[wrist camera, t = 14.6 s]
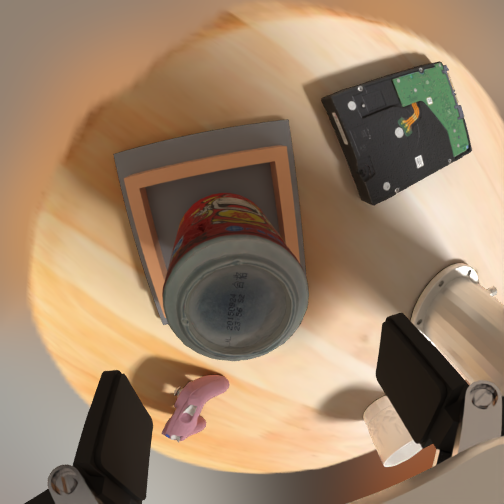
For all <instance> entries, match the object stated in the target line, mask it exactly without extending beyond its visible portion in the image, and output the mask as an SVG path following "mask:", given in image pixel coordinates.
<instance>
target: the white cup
mask: <svg viewBox="0 0 504 504" xmlns="http://www.w3.org/2000/svg"><path fill="white" fill-rule="evenodd" d="M363 419H364V421H365V423H366V425H367V427H368V430H369V433H370V436H371V438H372V440H373V443H374V445H375V447H376V449H377V451H378V454H379V456H380V458H381V461H382V463H383V465H384V466H385V467H390V466H394V465H397V464H399V463H402V462H404V461H406V460H407V459H409V458H411V457H412V456H413V455H415V454H416V453H418V452H419V451H420V450H421V449H422V447H421V445H420V443H419V444H416V443H415V442H414V441H413V439H412V437H411V435H410V434H409V432H408V430H407V429H406V427H405V425H404V424H403V422H402V420H401V419H400V417H399V415H398V414H397V412H396V410H395V409H394V407H393V405H392V404H391V402H390V400H389V399H388V397H387V395H386V396H383V397H381V398H379V399H378V400H376V401H374V402H373V403H372V404H371V405H370V406H369V407H368V408H367V409H366V411H365V412H364V415H363Z"/></svg>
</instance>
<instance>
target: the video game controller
mask: <svg viewBox="0 0 504 504" xmlns="http://www.w3.org/2000/svg"><path fill="white" fill-rule="evenodd" d="M180 388H181V386H180V387H178V388H176V390H175V393H174V395H175V396H176V395H177V400H176V402H175V405H174V407H175V408H176V410H175V412H174V414H173V415H172V417H171V418H170V419H169V420H168V421H167V423H166V425H165V427H164V429H163V431H162V434H163V435H165V436H166V437H168V438H170V439H172V440H177V441H178V443H179V441H183V440H184V439H186V438H187V437H189V436H191V435H193V434H195V433H198V432H200V431H202V430H203V429H204V428H205V427H206V421H205V419H204V418H203V417H201V416H199V415H200V413H201V410H202V408H203V406H204V404H205V403H206V402H207V401H208V400H210V399H211V398H213V397H215V396H217V395H219V394H222V393H224V392H225V391H226V390H227V389H228V388H229V381H228V380H227V379H226V378H225V377H224V376H220V375H207V376H203V377H201V378H198V379H196V380H194V381H192V382H191V381H190V382H188V383H187V385H186V386H185V387H184V388H182V389H181V390H180Z"/></svg>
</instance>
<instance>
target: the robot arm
mask: <svg viewBox="0 0 504 504" xmlns="http://www.w3.org/2000/svg"><path fill="white" fill-rule="evenodd" d="M496 294H497V289H496V288H495V287H494V286H493V287H491V288H489V289H485V288H484V287H482V286H481V285H479V280H478V275H477V273H476V271H475V270H474V269H473V268H472V267H470V266H469V265H467V264H464V263H456V264H453V265H450V266H448V267H447V268H445V269H443V270H442V271H441V272H440V273H438V274H437V275H436V276H435V277H434V278H433V279H432V280H431V281H430V283H429V284H428V285H427V286H426V288H425V289H424V291H423V292H422V294H421V295H420V297H419V299H418V301H417V303H416V305H415V308H414V311H413V313H412V318H411V321H410V320H409V319H408V318H407V317H406V316H405V315H404V314H403V313H398V314H395V315H392V316H389V317H387V318H386V321H385V322H383V324H382V332H381V340H380V348H379V355H378V362H377V368H376V378H377V381H378V383H379V384H380V386H381V387H382V389H383V391H384V392H385V394H386V395H387V397H388V399H389V400H390V402H391V404H392V405H393V407H394V409H395V410H396V412H397V414H398V415H399V417H400V419H401V420H402V422H403V424H404V425H405V427H406V429H407V430H408V432H409V434H410V435H411V437H412V439H413V441H414V442H415V443H416V444H419V443H420V445H421V447H422V448H425V447H427V446H429V445H431V444H434V446H435V447H436V449H437V451H436V455H435V459H434V463H433V467H432V468H430V469H428V470H426V471H424V472H422V473H420V474H418V475H416V476H414V477H412V478H410V479H408V480H406V481H403V482H401V483H399V484H397V485H394V486H392V487H390V488H387V489H385V490H382V491H380V492H377V493H375V494H372V495H370V496H367V497H364V498H361V499H359V500H356V501H353V502H350V503H347V504H504V305H503V304H502V303H501V302H499V301H498V300H497V299H496V298H495V297H493V296H495V295H496ZM435 346H436V347H437V348H438V349H439V350H440V351H441V352H442V353H443V354H444V355H445V356H446V357H447V358H448V359H449V361H450V362H451V363H452V364H453V365H454V366H455V367H456V368H457V369H458V370H459V372H460V373H461V374H462V375H463V376H464V377H465V378H466V379H467V380H468V382H469V383H470V384H471V385H470V386H469V385H468V384H467V382H466V381H465V380H464V379H463V378H462V377H461V375H460V374H459V373H458V372H457V371H456V370H455V369H454V367H453V366H452V365H451V364H450V363H449V362H448V361H447V360H446V358H445V357H444V356H443V355H442V354H441V353H440V352H439V351H438V350H437V348H436V347H435ZM152 430H153V422H152V419H151V417H150V415H149V414H148V412H147V410H146V409H145V407H144V406H143V404H142V402H141V401H140V399H139V397H138V396H137V394H136V392H135V391H134V389H133V387H132V386H131V384H130V382H129V380H128V379H127V377H126V375H125V374H121V372H120V371H119V370H113V371H104V372H103V373H102V375H101V378H100V381H99V384H98V387H97V389H96V392H95V395H94V398H93V401H92V404H91V407H90V409H89V412H88V415H87V418H86V421H85V424H84V428H83V431H82V434H81V438H80V442H79V445H78V448H77V452H76V456H75V459H74V463H73V466H71V465H60V466H58V467H56V468H55V469H53V470H52V472H51V473H50V475H49V477H48V488H49V489H47V490H46V491H44V492H42V493H41V494H39V495H38V496H36V497H34V498H33V499H31V500H30V501H28V502H26V503H25V504H142V500H145V498H146V490H147V478H148V467H149V456H150V447H151V438H152Z"/></svg>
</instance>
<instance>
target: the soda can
mask: <svg viewBox="0 0 504 504" xmlns="http://www.w3.org/2000/svg"><path fill="white" fill-rule="evenodd" d="M162 296H163V308H164V312H165V316H166V319H167V322H168V324H169V326H170V327H171V329H172V330H173V332H174V333H175V334H176V336H177V337H178V338H179V339H180V340H181V341H182V342H183V344H184V345H186V346H188V347H189V348H191V349H192V350H194V351H195V352H197V353H199V354H202V355H204V356H207V357H209V358H213V359H217V360H228V361H240V360H248V359H252V358H256V357H259V356H262V355H265V354H267V353H269V352H271V351H272V350H274V349H276V348H277V347H279V346H280V345H282V344H284V343H285V342H286V341H287V340H288V339H289V338H290V337H291V336H292V334H293V333H294V332H295V331H296V330H297V328H298V327H299V325H300V324H301V322H302V319H303V317H304V315H305V312H306V310H307V306H308V297H309V292H308V283H307V278H306V275H305V273H304V270H303V268H302V266H301V265H300V263H299V261H298V260H297V258H296V257H295V255H294V254H293V253H292V252H291V251H290V249H289V248H288V247H287V246H286V244H285V242H284V241H283V239H282V238H281V236H280V235H279V234H278V232H277V231H276V230H275V228H274V227H273V226H272V224H271V223H270V222H269V220H268V219H267V218H266V216H265V215H264V214H263V212H262V211H261V209H260V208H259V207H258V206H257V205H255V204H254V203H253V202H252V201H250V200H249V199H247V198H244V197H242V196H240V195H237V194H232V193H218V194H212V195H209V196H207V197H205V198H202V199H200V200H199V201H197V202H196V203H194V204H193V205H192V206H191V207H190V208H189V210H188V211H187V212H186V213H185V214H184V216H183V218H182V220H181V222H180V225H179V229H178V232H177V236H176V240H175V243H174V247H173V251H172V255H171V259H170V263H169V267H168V270H167V274H166V278H165V282H164V285H163V292H162Z"/></svg>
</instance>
